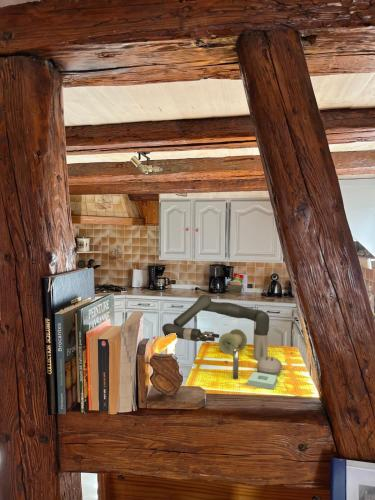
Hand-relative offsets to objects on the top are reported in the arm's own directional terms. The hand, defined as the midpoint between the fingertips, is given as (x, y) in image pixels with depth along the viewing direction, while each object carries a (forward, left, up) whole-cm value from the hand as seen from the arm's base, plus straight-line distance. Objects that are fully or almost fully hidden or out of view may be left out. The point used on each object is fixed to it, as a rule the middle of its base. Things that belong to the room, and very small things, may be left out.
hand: (216, 337), depth 203 cm
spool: (-49, -4, -23) cm, 54 cm away
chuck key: (0, +12, -22) cm, 25 cm away
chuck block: (0, +28, -22) cm, 36 cm away
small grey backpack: (-20, +28, -23) cm, 41 cm away
